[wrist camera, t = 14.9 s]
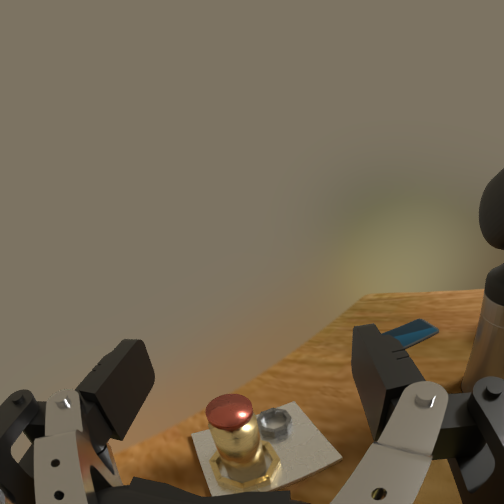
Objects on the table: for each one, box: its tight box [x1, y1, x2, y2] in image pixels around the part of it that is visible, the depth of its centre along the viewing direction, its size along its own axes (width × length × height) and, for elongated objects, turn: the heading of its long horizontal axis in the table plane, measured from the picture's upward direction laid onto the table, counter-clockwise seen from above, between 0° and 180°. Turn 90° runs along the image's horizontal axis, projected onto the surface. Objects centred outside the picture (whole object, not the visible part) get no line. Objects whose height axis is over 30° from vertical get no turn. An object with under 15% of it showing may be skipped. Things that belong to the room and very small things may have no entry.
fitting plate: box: [191, 401, 343, 496], centre depth 31 cm, size 17×14×2 cm
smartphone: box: [381, 319, 439, 349], centre depth 53 cm, size 8×15×1 cm, turn 102°
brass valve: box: [206, 394, 266, 482], centre depth 27 cm, size 5×5×12 cm
